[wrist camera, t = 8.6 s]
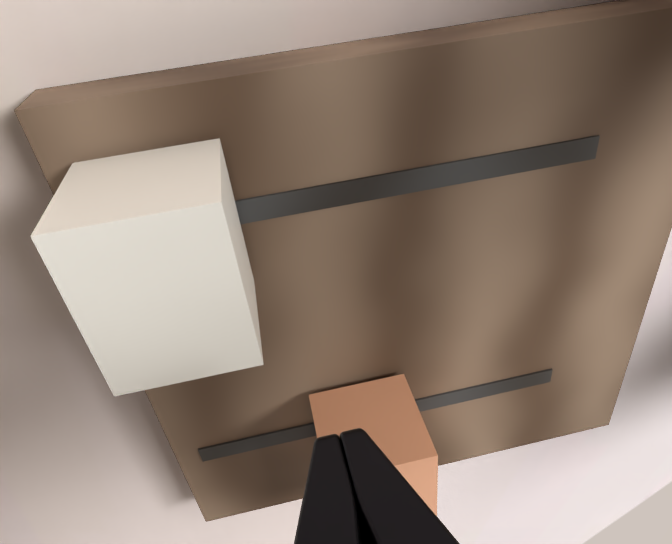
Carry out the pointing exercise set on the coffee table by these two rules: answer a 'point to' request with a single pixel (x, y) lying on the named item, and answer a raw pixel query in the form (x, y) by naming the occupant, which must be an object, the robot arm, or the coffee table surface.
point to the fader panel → (413, 226)
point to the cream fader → (154, 265)
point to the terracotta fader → (384, 427)
